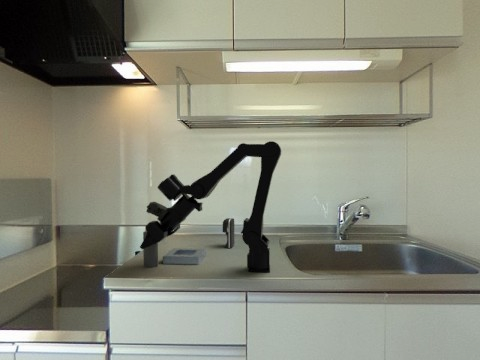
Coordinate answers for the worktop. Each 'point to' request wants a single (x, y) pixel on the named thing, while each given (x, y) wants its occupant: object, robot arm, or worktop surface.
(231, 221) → the battery charger
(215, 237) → the worktop surface
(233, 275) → the worktop surface
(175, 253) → the housing
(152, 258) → the plug
